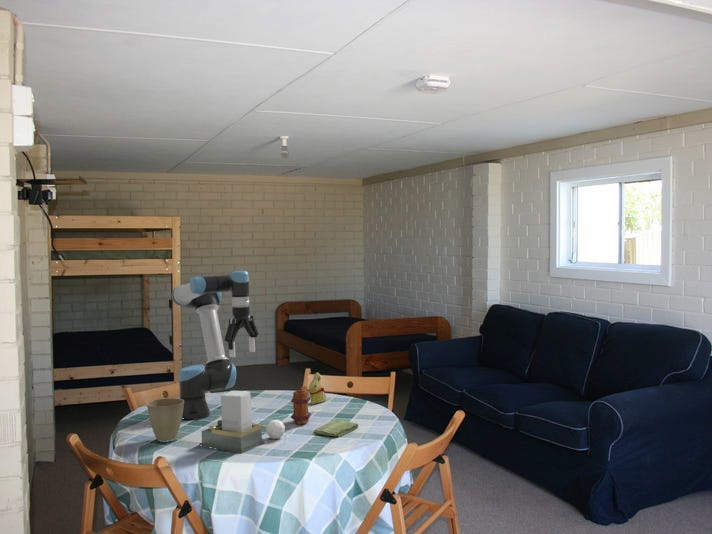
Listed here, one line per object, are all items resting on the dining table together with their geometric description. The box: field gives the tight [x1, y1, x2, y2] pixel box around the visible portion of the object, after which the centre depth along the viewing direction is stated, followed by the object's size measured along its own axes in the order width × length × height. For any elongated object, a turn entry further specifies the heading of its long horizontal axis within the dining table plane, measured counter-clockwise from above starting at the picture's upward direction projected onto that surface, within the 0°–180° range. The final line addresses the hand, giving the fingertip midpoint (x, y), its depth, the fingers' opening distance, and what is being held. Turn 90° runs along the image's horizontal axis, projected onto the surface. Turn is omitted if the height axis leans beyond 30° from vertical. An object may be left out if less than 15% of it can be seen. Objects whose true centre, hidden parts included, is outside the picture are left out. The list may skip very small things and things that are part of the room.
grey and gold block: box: [198, 419, 266, 454], centre depth 274 cm, size 22×15×8 cm
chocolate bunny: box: [308, 372, 327, 405], centre depth 339 cm, size 7×11×15 cm, turn 139°
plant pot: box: [146, 397, 184, 441], centre depth 282 cm, size 15×15×16 cm
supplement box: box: [220, 390, 253, 433], centre depth 272 cm, size 9×9×15 cm
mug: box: [290, 385, 312, 425], centre depth 305 cm, size 15×8×15 cm, turn 168°
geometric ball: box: [265, 419, 286, 440], centre depth 281 cm, size 8×8×8 cm
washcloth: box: [312, 418, 359, 438], centre depth 289 cm, size 13×18×3 cm
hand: (242, 354), depth 300 cm, fingers open, 13 cm apart
